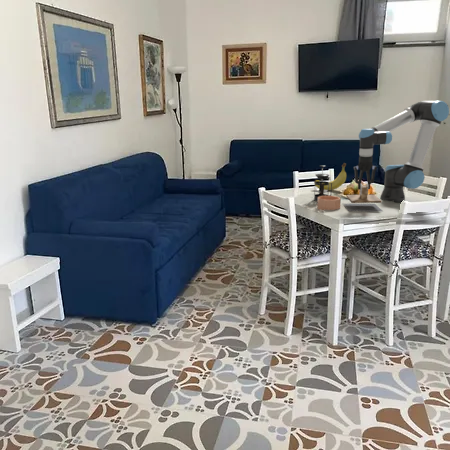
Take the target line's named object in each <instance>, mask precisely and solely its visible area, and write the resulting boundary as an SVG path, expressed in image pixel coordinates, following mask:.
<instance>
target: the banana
mask: <svg viewBox="0 0 450 450" xmlns="http://www.w3.org/2000/svg"><path fill="white" fill-rule="evenodd" d="M346 166H347V163H345V162H343V164H342V165H341V167H342V168H341V172H339V174H338V176H337V177H336V178H335V179H334V180H332V181H330V182H331V183H332V191H334V190H337V189H339V188H340V187H341V186H342V185H344V183H345V182H346V180H347V172H346V170H345V167H346ZM316 181H319V179H315V180H314V181H313V184H314V187H315V188H317V189H319V188H320V185H315V182H316ZM331 183H329V191H331ZM324 190H328V185H324Z"/></svg>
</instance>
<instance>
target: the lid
mask: <svg viewBox="0 0 450 450" xmlns="http://www.w3.org/2000/svg"><path fill="white" fill-rule="evenodd" d="M367 192H368V193H369V189H368V187H367V186H366V184H364V185H363V184H362V195H359V194H346V196H345V197H346V198H347V199H348V201H349V202H350V204H382V199H380V198H379V197H378V196H377V195H376V194H368V195H367Z"/></svg>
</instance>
